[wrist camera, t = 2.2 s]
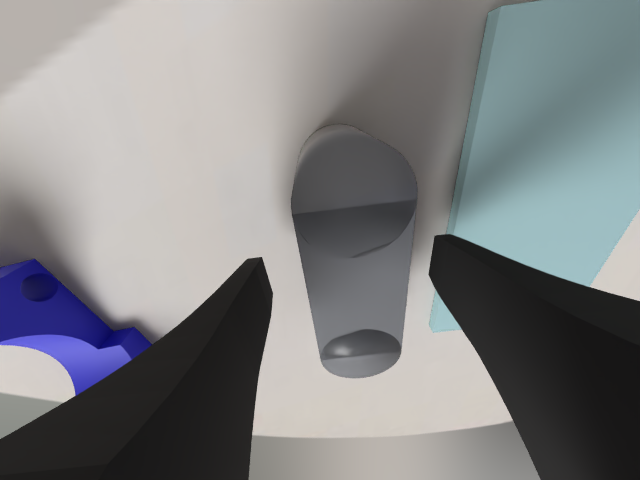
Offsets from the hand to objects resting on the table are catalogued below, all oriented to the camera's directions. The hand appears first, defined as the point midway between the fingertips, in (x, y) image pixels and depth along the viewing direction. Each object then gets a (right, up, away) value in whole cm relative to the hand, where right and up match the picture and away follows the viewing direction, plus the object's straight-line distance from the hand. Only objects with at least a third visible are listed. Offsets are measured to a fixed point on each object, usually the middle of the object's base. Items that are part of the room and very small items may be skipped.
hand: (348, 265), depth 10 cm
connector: (0, +1, +2) cm, 3 cm away
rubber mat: (+10, +3, +2) cm, 10 cm away
